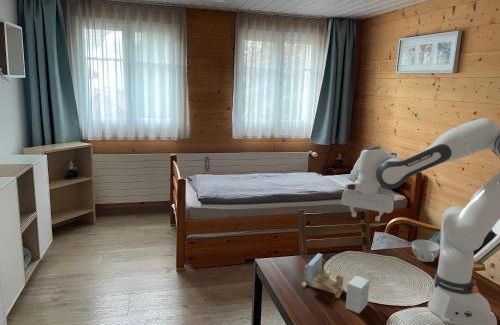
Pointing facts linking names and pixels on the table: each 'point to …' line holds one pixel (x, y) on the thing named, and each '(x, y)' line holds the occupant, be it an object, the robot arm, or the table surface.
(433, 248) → the teacup
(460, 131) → the robot arm
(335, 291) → the pine rail
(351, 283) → the small box
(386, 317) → the table surface
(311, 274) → the blue slat
